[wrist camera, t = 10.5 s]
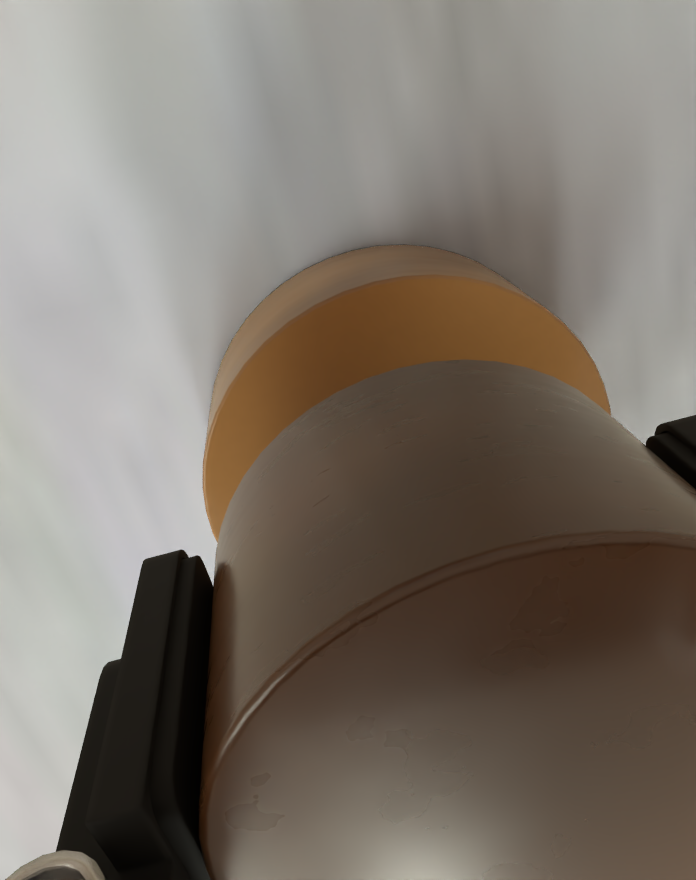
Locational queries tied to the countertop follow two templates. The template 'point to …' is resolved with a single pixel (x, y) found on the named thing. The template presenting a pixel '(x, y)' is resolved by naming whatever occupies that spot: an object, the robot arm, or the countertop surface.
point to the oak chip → (370, 345)
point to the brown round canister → (453, 642)
